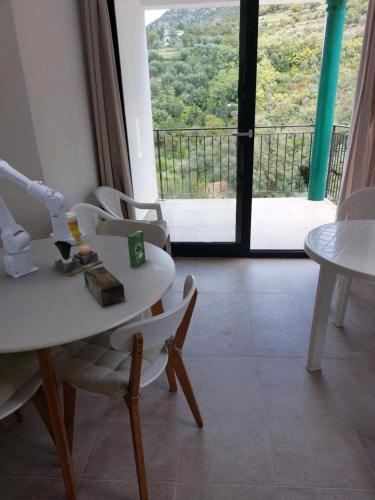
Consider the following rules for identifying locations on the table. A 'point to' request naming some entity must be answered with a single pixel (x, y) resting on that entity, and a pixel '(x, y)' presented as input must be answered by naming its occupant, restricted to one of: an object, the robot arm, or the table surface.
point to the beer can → (73, 226)
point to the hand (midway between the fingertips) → (66, 258)
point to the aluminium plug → (67, 260)
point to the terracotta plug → (84, 250)
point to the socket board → (77, 264)
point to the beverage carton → (104, 286)
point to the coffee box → (136, 248)
